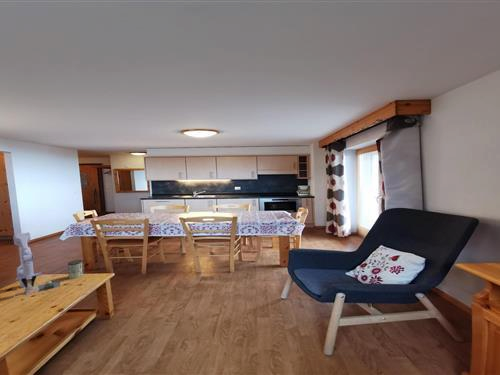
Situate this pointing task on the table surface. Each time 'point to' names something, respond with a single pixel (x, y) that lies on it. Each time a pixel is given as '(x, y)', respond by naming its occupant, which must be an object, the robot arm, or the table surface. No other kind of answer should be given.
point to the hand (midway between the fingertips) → (29, 286)
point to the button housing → (49, 286)
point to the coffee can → (75, 269)
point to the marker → (29, 284)
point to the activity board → (40, 288)
